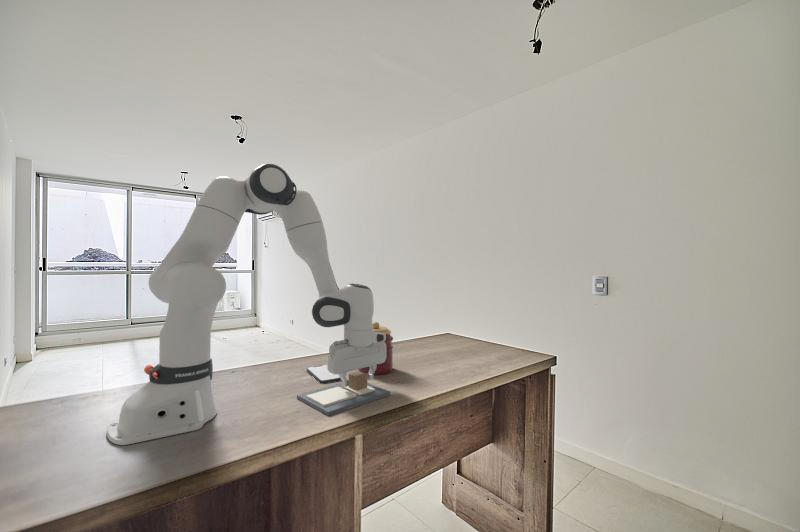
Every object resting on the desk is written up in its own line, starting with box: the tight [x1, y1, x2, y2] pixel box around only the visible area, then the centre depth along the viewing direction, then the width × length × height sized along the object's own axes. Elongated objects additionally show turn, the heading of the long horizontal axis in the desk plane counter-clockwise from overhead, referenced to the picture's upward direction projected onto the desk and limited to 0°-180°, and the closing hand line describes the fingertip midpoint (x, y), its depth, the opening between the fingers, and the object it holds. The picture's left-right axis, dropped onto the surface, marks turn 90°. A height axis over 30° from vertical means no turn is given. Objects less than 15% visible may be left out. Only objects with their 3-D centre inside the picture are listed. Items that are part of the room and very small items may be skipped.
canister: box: [357, 321, 394, 376], centre depth 136 cm, size 13×13×18 cm
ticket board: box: [296, 382, 391, 417], centre depth 109 cm, size 22×16×2 cm
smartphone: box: [305, 364, 341, 384], centre depth 129 cm, size 9×2×16 cm
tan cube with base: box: [341, 371, 375, 395], centre depth 112 cm, size 6×9×4 cm, turn 45°
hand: (357, 382), depth 113 cm, fingers open, 8 cm apart
